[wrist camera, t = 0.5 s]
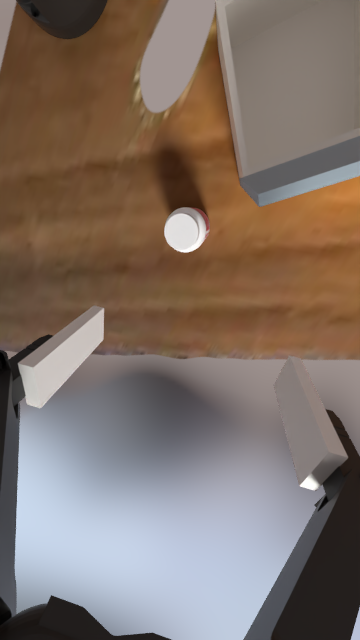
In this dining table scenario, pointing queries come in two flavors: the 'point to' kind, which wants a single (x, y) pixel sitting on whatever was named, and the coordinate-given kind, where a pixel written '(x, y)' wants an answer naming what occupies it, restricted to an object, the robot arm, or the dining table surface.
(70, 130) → the dining table surface
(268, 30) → the box
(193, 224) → the pill bottle
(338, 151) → the lid
